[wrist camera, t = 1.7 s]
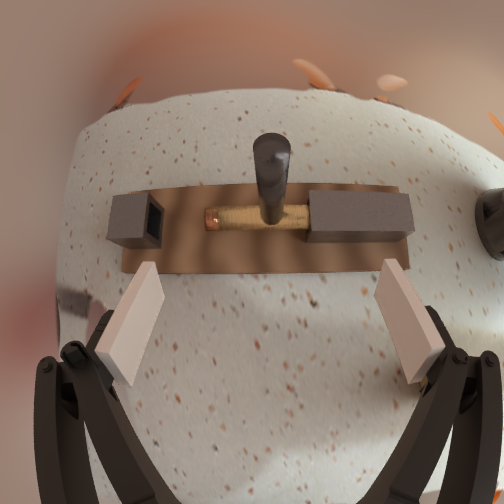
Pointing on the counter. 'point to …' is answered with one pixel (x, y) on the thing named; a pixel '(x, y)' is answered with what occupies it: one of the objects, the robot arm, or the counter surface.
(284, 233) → the base board
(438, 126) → the counter surface
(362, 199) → the outer sleeve
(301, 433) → the counter surface
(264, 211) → the sliding bolt
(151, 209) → the socket
